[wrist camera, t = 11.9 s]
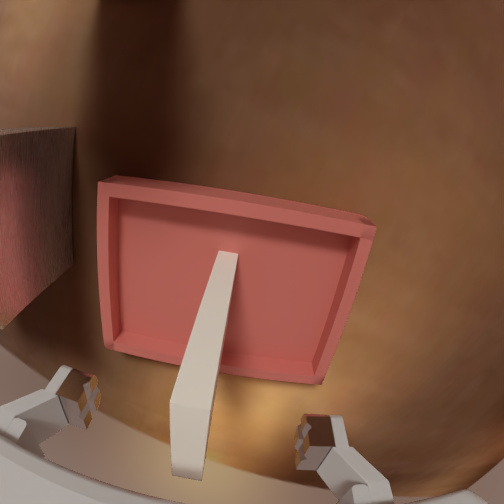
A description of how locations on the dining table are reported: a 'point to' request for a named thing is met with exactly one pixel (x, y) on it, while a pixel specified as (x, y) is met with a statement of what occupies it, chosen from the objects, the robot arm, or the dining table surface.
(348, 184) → the dining table surface
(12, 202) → the dispenser
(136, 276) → the tray
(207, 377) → the long rectangular block
